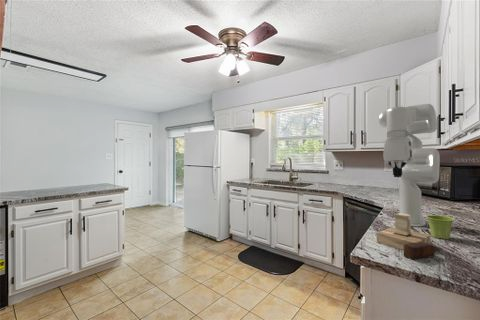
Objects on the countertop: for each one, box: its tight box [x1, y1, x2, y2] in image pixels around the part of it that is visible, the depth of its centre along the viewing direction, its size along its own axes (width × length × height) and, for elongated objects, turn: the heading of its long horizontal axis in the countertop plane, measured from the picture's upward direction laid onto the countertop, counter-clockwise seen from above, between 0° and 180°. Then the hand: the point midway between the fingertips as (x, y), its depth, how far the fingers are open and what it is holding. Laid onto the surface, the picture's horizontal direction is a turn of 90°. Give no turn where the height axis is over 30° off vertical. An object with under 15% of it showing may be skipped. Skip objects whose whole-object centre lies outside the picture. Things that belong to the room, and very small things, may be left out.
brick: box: [403, 242, 436, 261], centre depth 81 cm, size 11×4×5 cm, turn 108°
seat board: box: [376, 226, 432, 251], centre depth 93 cm, size 14×14×4 cm
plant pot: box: [426, 214, 455, 240], centre depth 101 cm, size 9×9×9 cm
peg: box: [394, 212, 412, 237], centre depth 93 cm, size 4×4×12 cm
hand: (397, 176), depth 100 cm, fingers closed
